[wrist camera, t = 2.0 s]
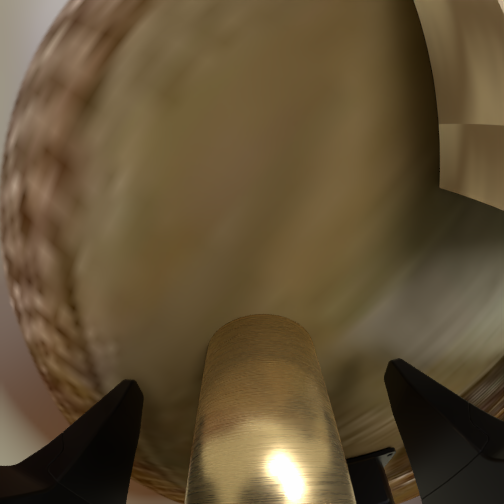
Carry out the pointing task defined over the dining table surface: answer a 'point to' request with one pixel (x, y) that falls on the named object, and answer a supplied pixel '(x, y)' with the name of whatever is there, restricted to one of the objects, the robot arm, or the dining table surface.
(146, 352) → the dining table surface
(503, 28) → the jig
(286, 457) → the gold metal cylinder
